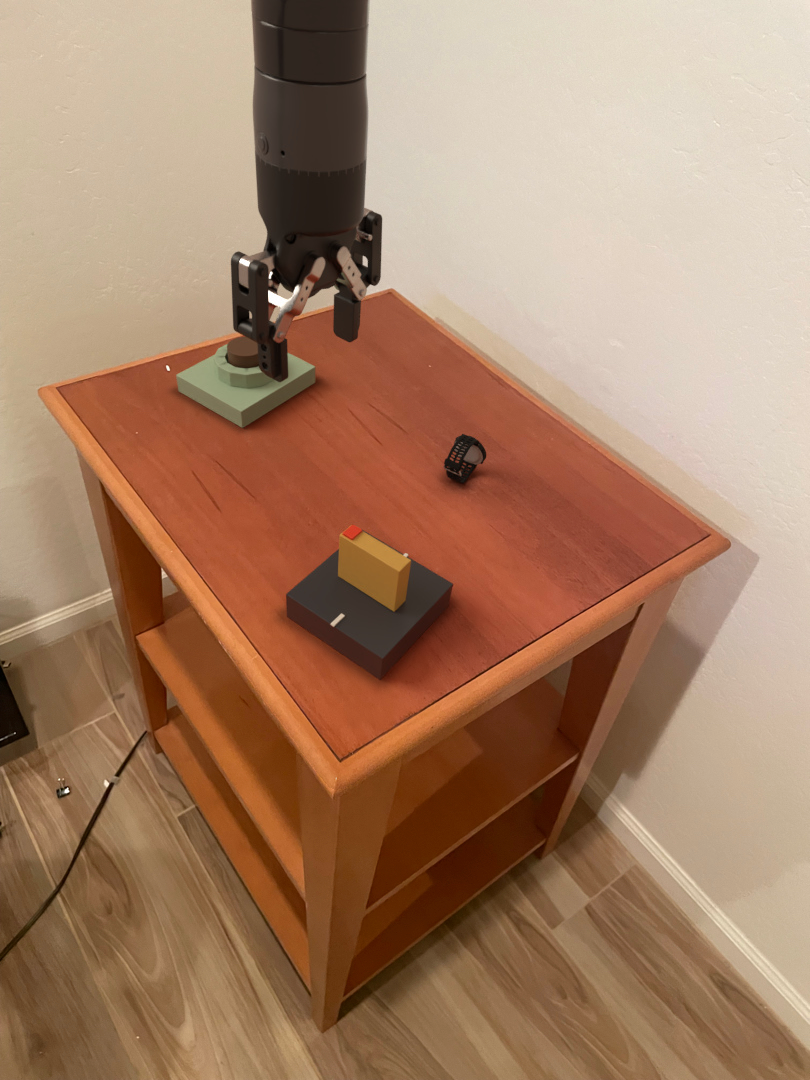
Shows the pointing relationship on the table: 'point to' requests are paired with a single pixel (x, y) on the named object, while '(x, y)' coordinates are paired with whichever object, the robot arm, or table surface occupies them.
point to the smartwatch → (464, 458)
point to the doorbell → (242, 387)
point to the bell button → (243, 353)
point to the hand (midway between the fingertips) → (312, 356)
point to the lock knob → (373, 567)
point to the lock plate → (367, 614)
